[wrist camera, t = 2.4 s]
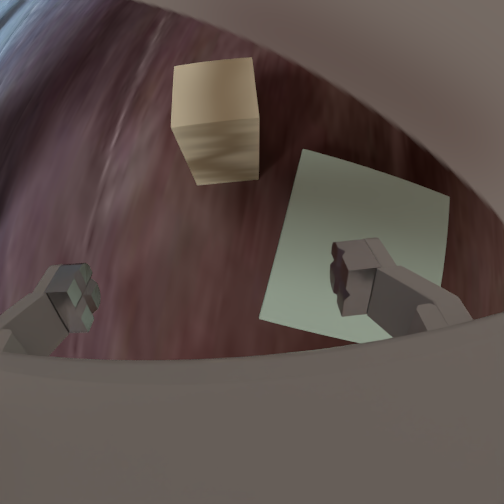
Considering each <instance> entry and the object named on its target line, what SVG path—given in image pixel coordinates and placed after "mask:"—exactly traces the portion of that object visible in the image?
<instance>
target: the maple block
mask: <svg viewBox="0 0 504 504" xmlns="http://www.w3.org/2000/svg"><path fill="white" fill-rule="evenodd" d="M171 129H172V131H173V133H174V135H175V138H176V140H177V142H178V144H179V146H180V149H181V151H182V153H183V155H184V157H185V160H186V162H187V164H188V166H189V168H190V170H191V173H192V175H193V177H194V179H195V181H196V183H197V185H205V184H215V183H225V182H236V181H247V180H259V110H258V102H257V94H256V86H255V78H254V70H253V62H252V57H251V58H237V59H226V60H217V61H208V62H200V63H193V64H186V65H180V66H174V77H173V94H172V114H171Z"/></svg>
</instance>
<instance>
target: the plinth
mask: <svg viewBox="0 0 504 504" xmlns="http://www.w3.org/2000/svg"><path fill="white" fill-rule="evenodd" d="M449 202H450V197H449V196H446V195H444V194H441V193H439V192H436V191H433V190H431V189H428V188H425V187H423V186H420V185H417V184H415V183H412V182H409V181H406V180H404V179H401V178H398V177H395V176H392V175H389V174H386V173H383V172H380V171H377V170H374V169H371V168H368V167H365V166H362V165H358V164H355V163H352V162H348V161H345V160H342V159H338V158H335V157H331V156H328V155H324V154H321V153H317V152H313V151H310V150H306V149H303V150H302V153H301V157H300V161H299V165H298V168H297V172H296V176H295V180H294V184H293V188H292V192H291V196H290V200H289V204H288V208H287V212H286V216H285V220H284V224H283V228H282V232H281V236H280V239H279V243H278V247H277V251H276V255H275V259H274V262H273V266H272V270H271V274H270V278H269V281H268V285H267V289H266V293H265V296H264V300H263V304H262V307H261V311H260V315H259V319H262V320H266V321H269V322H273V323H277V324H281V325H285V326H289V327H293V328H297V329H301V330H305V331H309V332H313V333H318V334H322V335H326V336H331V337H335V338H339V339H344V340H348V341H353V342H357V343H366V342H372V341H378V340H383V339H389V338H393V337H392V336H391V335H389V334H388V333H387V332H386V331H385V330H384V329H382V328H381V327H380V326H379V325H378V324H377V323H375V322H374V321H373V320H372V319H371V318H370V317H368V316H367V314H363V315H354V316H345V317H342V316H341V313H340V310H339V308H338V305H337V295H336V294H335V293H333V290H332V287H331V283H330V264H331V263H332V262H333V261H334V259H333V256H332V254H331V249H332V244H333V242H339V241H349V240H359V239H366V238H374V237H377V238H379V239H380V241H381V242H382V244H383V245H384V247H385V248H386V250H387V251H388V253H389V254H390V256H391V257H392V259H393V261H394V262H395V264H396V265H397V266H403V267H405V268H407V269H408V270H410V271H412V272H414V273H416V274H418V275H420V276H421V277H423V278H425V279H427V280H429V281H431V282H432V283H434V284H436V285H438V286H440V287H441V281H442V274H443V267H444V259H445V251H446V242H447V231H448V219H449Z"/></svg>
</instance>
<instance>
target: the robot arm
mask: <svg viewBox="0 0 504 504" xmlns="http://www.w3.org/2000/svg"><path fill="white" fill-rule="evenodd" d="M331 254H332V256H333V259H334V261H333V262H332V263H331V264H330V283H331V287H332V290H333V293H335V294H336V295H337V305H338V308H339V310H340V313H341V316H342V317H345V316H354V315H363V314H367V316H368V317H370V318H371V319H372V320H373V321H374V322H375V323H377V324H378V325H379V326H380V327H381V328H382V329H384V330H385V331H386V332H387V333H388V334H389V335H391V336H392V337H393V338H389V339H383V340H378V341H372V342H366V343H360V344H353V345H347V346H340V347H333V348H326V349H318V350H310V351H301V352H292V353H282V354H272V355H260V356H247V357H232V358H215V359H192V360H99V359H78V358H62V357H48V356H49V355H50V354H51V353H52V352H53V351H54V350H55V348H56V347H57V346H58V345H59V344H60V343H61V342H62V341H63V340H64V339H65V338H66V336H67V335H68V334H69V333H80V332H89V330H90V327H91V325H92V322H93V320H94V317H93V315H92V314H93V313H94V312H95V311H96V310H97V309H98V307H99V304H100V290H99V287H98V285H97V283H96V282H95V281H94V280H93V279H91V276H92V271H91V269H90V266H89V265H88V264H86V263H76V264H63V265H62V264H60V265H52V266H50V267H49V268H48V269H47V271H46V273H45V274H44V276H43V277H42V279H41V280H40V282H39V283H38V285H37V286H36V288H35V290H34V291H33V293H32V294H28V295H27V296H25V297H24V298H23V299H21V300H20V301H19V302H17V303H16V304H15V305H13V306H12V307H11V308H9V309H8V310H7V311H5V312H4V313H3V314H1V315H0V504H504V312H501V313H498V314H494V315H490V316H487V317H483V318H479V319H475V320H473V319H472V317H471V316H470V314H469V313H468V311H467V309H466V308H465V306H464V305H463V303H462V302H461V300H460V299H459V297H457V296H456V295H454V294H452V293H450V292H449V291H447V290H445V289H443V288H441V287H440V286H438V285H436V284H434V283H432V282H431V281H429V280H427V279H425V278H423V277H421V276H420V275H418V274H416V273H414V272H412V271H410V270H408V269H407V268H405V267H403V266H397V265H396V264H395V262H394V261H393V259H392V257H391V256H390V254H389V253H388V251H387V250H386V248H385V247H384V245H383V244H382V242H381V241H380V239H379V238H377V237H374V238H366V239H359V240H349V241H339V242H333V244H332V249H331Z"/></svg>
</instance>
